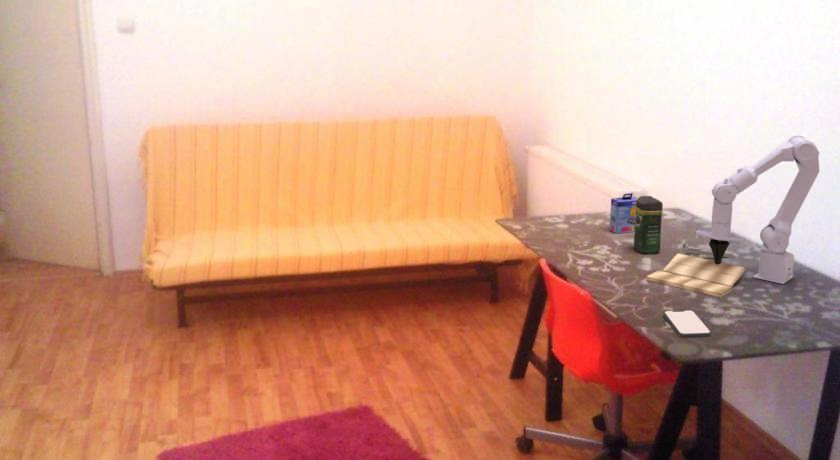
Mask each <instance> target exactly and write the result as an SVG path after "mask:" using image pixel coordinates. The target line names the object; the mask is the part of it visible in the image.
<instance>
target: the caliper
mask: <svg viewBox="0 0 840 460" xmlns="http://www.w3.org/2000/svg"><path fill="white" fill-rule="evenodd" d="M678 254H683V255H688V256H692V257H697V258H700V255H701V256H709V257H710V256H711V257H714V256H713V252H712V250H707V249H706V250H705V249H701V248H699V247H698V248H697V247H690V245H689V244H688V243H686V244H685V243H683V244H682V246H680V248H679V251H678ZM733 257H734V258H735V257H736V254H733V253H732V252H726V251H725V253H724V255H723V258H728V259H729V258H733ZM736 258H737V257H736Z"/></svg>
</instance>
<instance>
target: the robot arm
mask: <svg viewBox="0 0 840 460" xmlns="http://www.w3.org/2000/svg"><path fill="white" fill-rule="evenodd" d="M819 156H820V151H819V149H818V148H817V146H816V144H815V143H814V142H813V141H810V140H809V139H807V138H805V137H804V136H802V135H799V134H798V135H793V136H791V137H790V138H788V140H784V141H783V142H782V143H780V144H779V145H778V146H777V147H776V148H775V149H773V150H772V151H771V152H769V153H768V154H766V155H765V156H764V157H763V158H762V159H760V160H759V161H758V162H756V163H754V164H753V165H752V166H743V167H738V168H737V169H736V170H737V171H736V172H735V173H733V174H732V175H730V176H728V177H725V178H724V179H723V181H719V182H717V183H715V184H714V186H713V188H712V189H711V194H712V197H713V204H712V212H711V225H710V231H706V230H703V231H702V230H697V231H695V238H696V239H704V240H709V242H708V245H709V247H710V249H711V250H710V251H712V252H713V256H712V257H713V261H715V264H720V263H723V258H724V257H723V255H724V253H725V252H726V251H727V249H728V248H729V246H730V244H735V245H739V246H744V245H745V243H746V238H745V237H741V236H737V235H734V234H731V229H732V220H733V219H732V217H733V203H734V201H735V200H736V198H737V195H739V194H740V193H742V192H744V191H745V190H746V189H748V188H750V187H751V186H752V185H754V184H756V183H757V182H758V181H757V180H758V178H759V176H761V175H762V174H763V173H765V172H767V171H769V170H770V169H772V168H773V167H775V166H777V165H779V164H780V163H782V162H791V163H792V162H793V163H794V162H795V164H796V166H797V169H798V172H797V174H796V175H795V177H794V180H793V182H792V184H791V186H790V187H789V189H788V191H787V192H786V195H785V197H784V199H783V201H782V203H781V205H780V207H779V209H778V210H777V212H776V214H775V216H774V217H773V218H771V219H770V220H769V222H768V224H767V225H765V226H764V227H763V228H762V229H761V230H760V234H759V237H760V240H761V242H762V244H761V246H760V250H759V251H760V252H759V263H758V272H757V273H756V274H754V275H753V276H752V277H753V278H755V279H759V280H764V281H768V282H772V283H778V284H785V283H786V282H788V281H790V280H791V279H793V278H794V275H793V272H794V262H795V256H794V253H791V252H789V251H787V248H788V247H789V245H790V244H789V243H790V240H789V239H790V237H791V235H792V225H793V223H794V221H795V219H796V217H797V215H798V214H799V211H800V210H801V207H802V206H803V204H804V202H805V200H806V198H807V196H808V195H809V192H810V191H811V188H812V187H813V185H814V183H815V181H816V179H817V177H818V175H819V174H820V160H819Z"/></svg>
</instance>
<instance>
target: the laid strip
mask: <svg viewBox="0 0 840 460" xmlns="http://www.w3.org/2000/svg"><path fill="white" fill-rule="evenodd" d="M663 270H664V269H663ZM663 270H662V269H658V270H657V271H655V272H652V273H650V274H648V275H647V276H646V281H649V282H654V283H659V284H662V285H665V286H666V285H667V286H671V287H676V288H679V289H683V290H687V291H691V292H696V293H700V294H705V295H709V296H712V297H717V298H722V297H724V296H726V295H727V294H729V293H731V292H732V291H733V290H734V289H733V288H734V285H733V286H730V285H725V284H721V283H716V282H712V281H707V280H703V279H699V278H694V277H690V276H685V275H681V274H676V273H672V272H667V271H663Z"/></svg>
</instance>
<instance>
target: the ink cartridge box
mask: <svg viewBox="0 0 840 460" xmlns="http://www.w3.org/2000/svg"><path fill="white" fill-rule="evenodd" d="M633 194H634V193H633V192H631V193H624V194H623V195H622V197H614V198H611V199H610V215H609V216H610V217H609V219H610V220H609V231H611V232H613V233H614V234H621V233H622V234H624V233H625V234H626V233H635V224H636V201H637V199H638V198H639V197H636V196H633Z"/></svg>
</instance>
